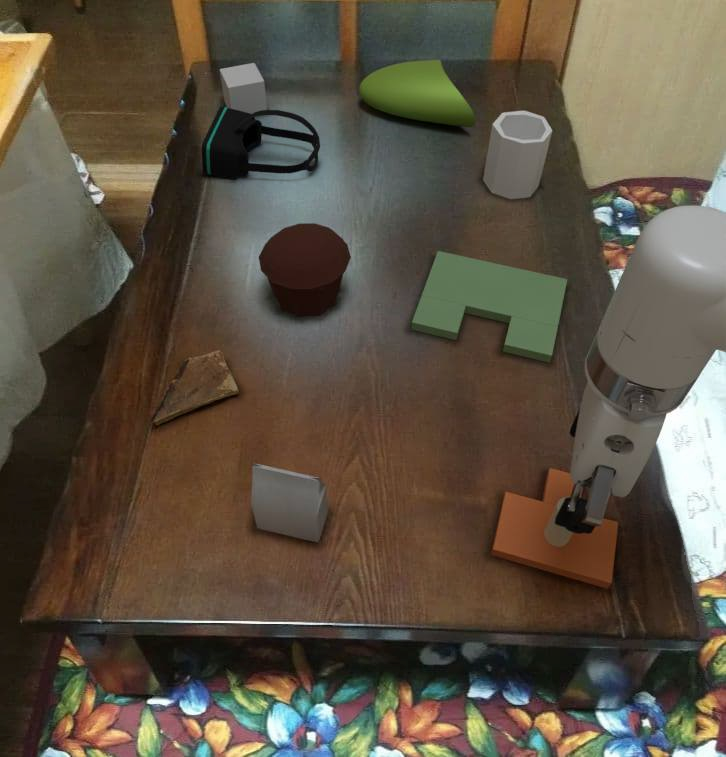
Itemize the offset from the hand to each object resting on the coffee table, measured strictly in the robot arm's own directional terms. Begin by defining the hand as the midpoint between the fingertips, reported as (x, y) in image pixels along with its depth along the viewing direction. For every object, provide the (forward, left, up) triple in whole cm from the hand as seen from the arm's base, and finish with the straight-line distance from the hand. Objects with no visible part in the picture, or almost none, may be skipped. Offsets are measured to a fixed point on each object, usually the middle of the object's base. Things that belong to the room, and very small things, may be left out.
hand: (579, 480), depth 67 cm
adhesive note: (+62, -64, -13) cm, 90 cm away
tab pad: (0, -2, -13) cm, 13 cm away
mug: (+15, -60, -13) cm, 63 cm away
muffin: (+37, -26, -13) cm, 47 cm away
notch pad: (+13, -31, -13) cm, 36 cm away
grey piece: (+27, +6, -13) cm, 30 cm away
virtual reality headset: (+53, -51, -13) cm, 74 cm away
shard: (+43, -6, -13) cm, 45 cm away
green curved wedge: (+34, -72, -13) cm, 81 cm away
